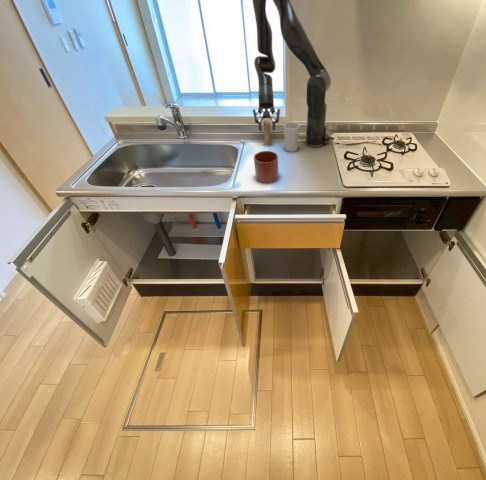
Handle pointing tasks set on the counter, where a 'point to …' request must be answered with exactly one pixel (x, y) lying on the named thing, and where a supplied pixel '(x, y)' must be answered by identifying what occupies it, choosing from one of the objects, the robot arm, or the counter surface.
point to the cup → (291, 136)
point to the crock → (266, 166)
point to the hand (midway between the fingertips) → (267, 130)
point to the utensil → (267, 133)
